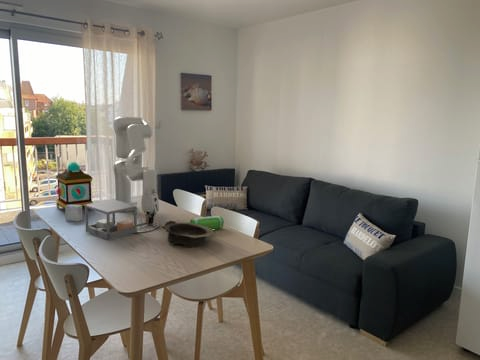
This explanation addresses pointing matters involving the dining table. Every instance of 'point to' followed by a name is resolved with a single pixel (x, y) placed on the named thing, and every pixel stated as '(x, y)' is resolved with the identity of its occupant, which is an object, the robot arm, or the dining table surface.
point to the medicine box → (73, 213)
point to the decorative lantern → (73, 187)
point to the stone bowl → (186, 233)
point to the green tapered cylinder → (209, 221)
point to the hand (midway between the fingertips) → (149, 223)
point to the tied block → (130, 224)
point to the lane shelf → (107, 209)
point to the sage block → (103, 223)
